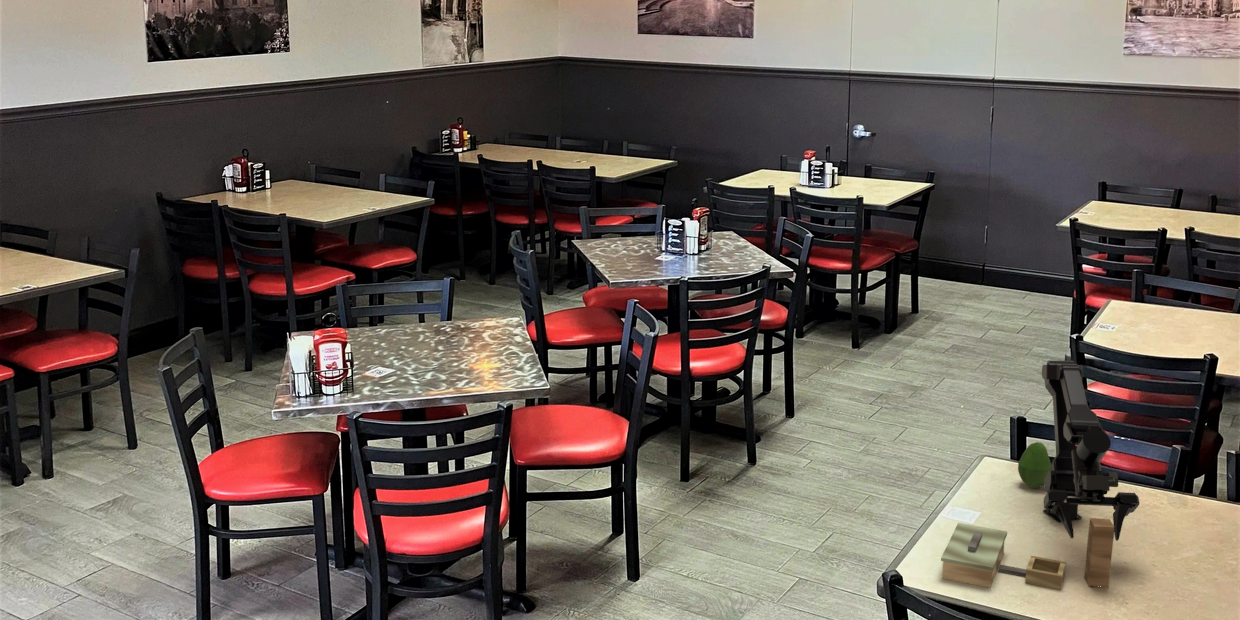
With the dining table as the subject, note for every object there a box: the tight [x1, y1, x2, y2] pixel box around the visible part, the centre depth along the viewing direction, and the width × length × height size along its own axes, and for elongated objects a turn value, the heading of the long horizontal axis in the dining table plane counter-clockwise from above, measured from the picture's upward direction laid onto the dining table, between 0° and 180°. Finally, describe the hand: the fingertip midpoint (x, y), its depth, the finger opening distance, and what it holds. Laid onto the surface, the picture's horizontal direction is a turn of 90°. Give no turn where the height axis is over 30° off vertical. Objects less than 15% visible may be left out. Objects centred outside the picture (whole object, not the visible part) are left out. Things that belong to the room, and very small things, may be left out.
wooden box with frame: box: [940, 522, 1067, 590], centre depth 248 cm, size 19×24×6 cm
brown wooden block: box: [1083, 517, 1115, 588], centre depth 241 cm, size 4×4×14 cm
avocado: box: [1017, 441, 1052, 489], centre depth 290 cm, size 8×8×12 cm
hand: (1094, 539), depth 245 cm, fingers open, 9 cm apart
